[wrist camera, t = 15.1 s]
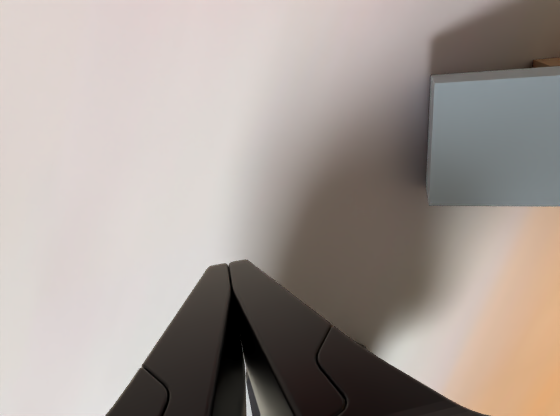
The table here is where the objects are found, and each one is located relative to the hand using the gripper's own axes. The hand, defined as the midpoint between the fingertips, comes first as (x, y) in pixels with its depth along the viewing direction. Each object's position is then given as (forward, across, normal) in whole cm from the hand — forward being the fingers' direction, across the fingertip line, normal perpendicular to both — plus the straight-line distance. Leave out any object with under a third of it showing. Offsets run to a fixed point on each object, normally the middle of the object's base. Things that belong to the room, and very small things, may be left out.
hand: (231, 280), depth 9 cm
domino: (+8, -9, 0) cm, 12 cm away
